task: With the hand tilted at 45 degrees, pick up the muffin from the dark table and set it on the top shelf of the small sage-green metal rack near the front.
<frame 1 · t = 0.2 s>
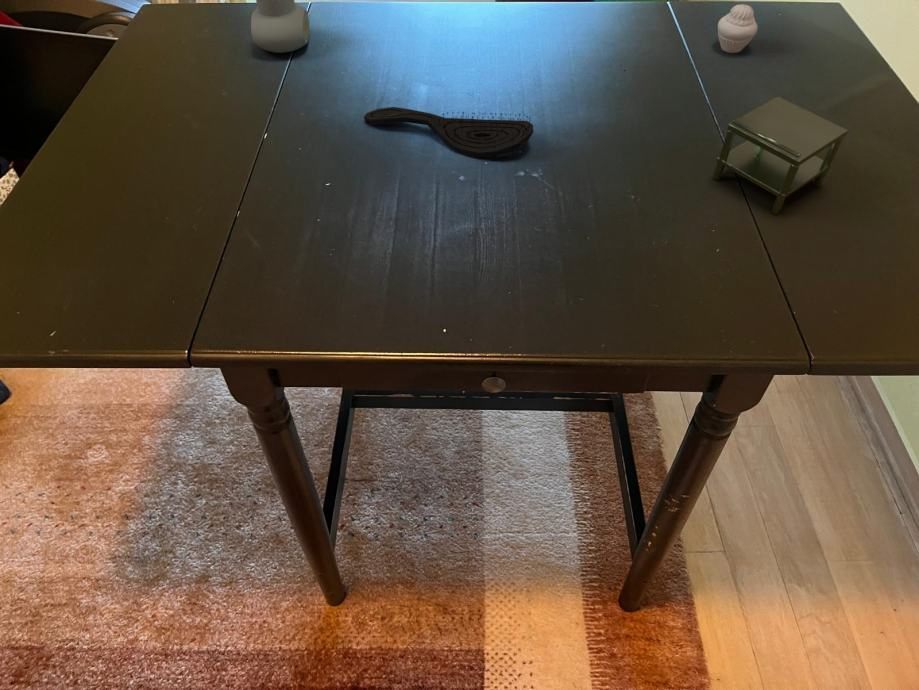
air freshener: (285, 46, 115), on the table
muffin: (730, 49, 112), on the table
rack: (766, 181, 90), on the table
hairbrush: (446, 135, 97), on the table
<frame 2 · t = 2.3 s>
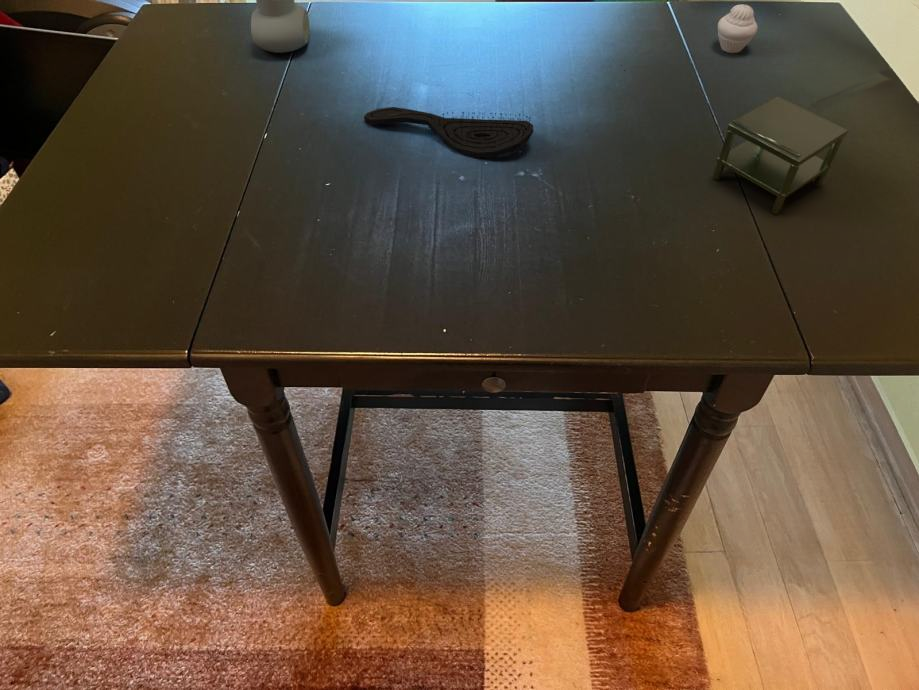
nothing on the table moved.
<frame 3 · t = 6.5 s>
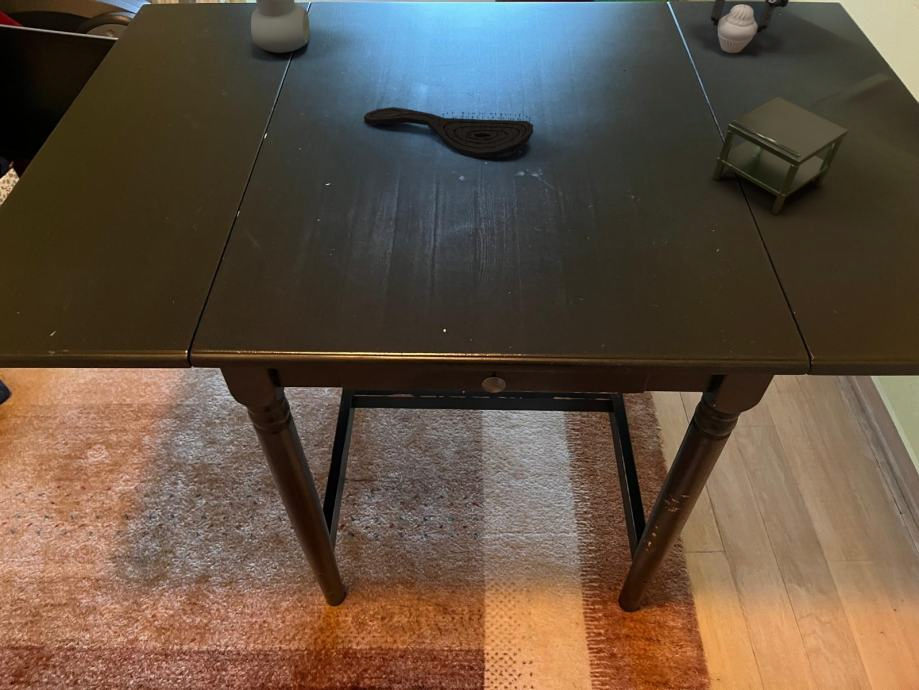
hand: (737, 26, 108), 4 cm above the table, tool tilted 45°, fingers closed on muffin, 6 cm apart
muffin: (730, 49, 112), on the table, touching gripper
everything else where it was.
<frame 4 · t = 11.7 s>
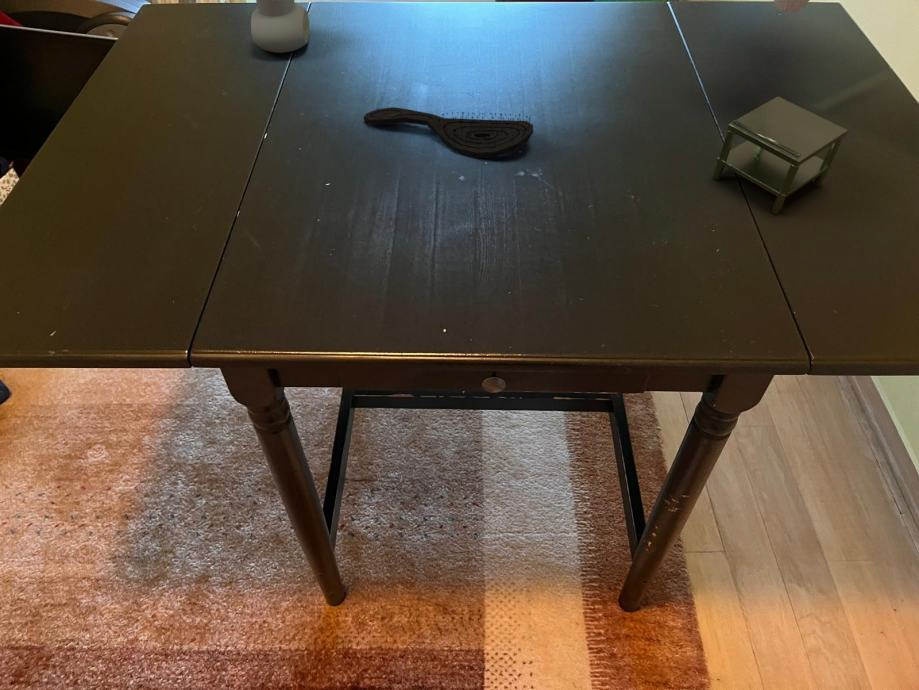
muffin: (787, 8, 88), point 15 cm above the table, touching gripper
everything else where it was.
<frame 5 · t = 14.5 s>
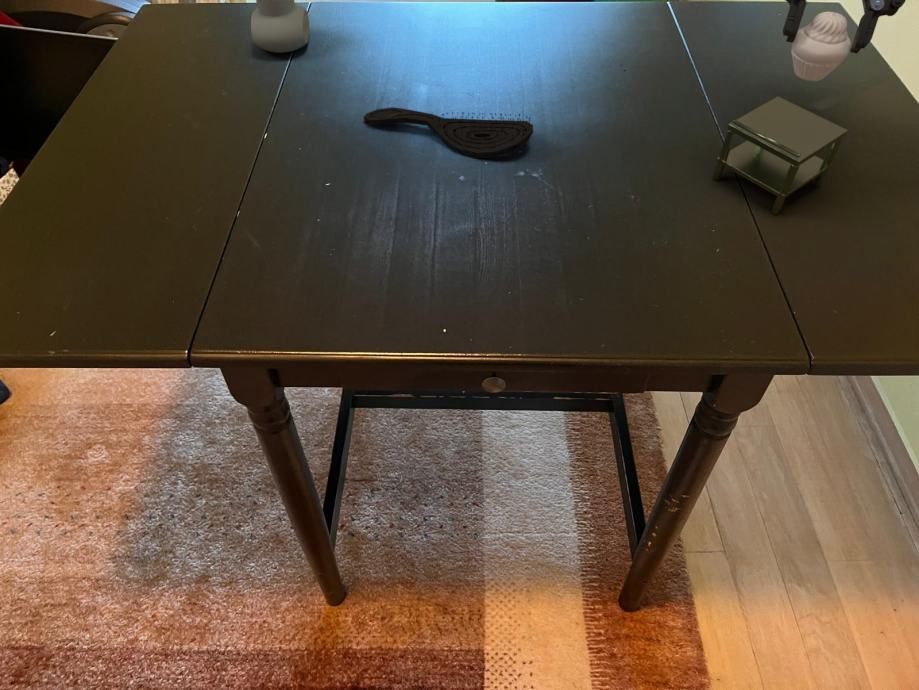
hand: (823, 44, 74), 19 cm above the table, tool tilted 45°, fingers closed on muffin, 6 cm apart
muffin: (808, 75, 78), point 15 cm above the table, touching gripper
everything else where it was.
when the fingers open (12 cm above the table, at t = 16.9 s): muffin stays where it is, resting on rack.
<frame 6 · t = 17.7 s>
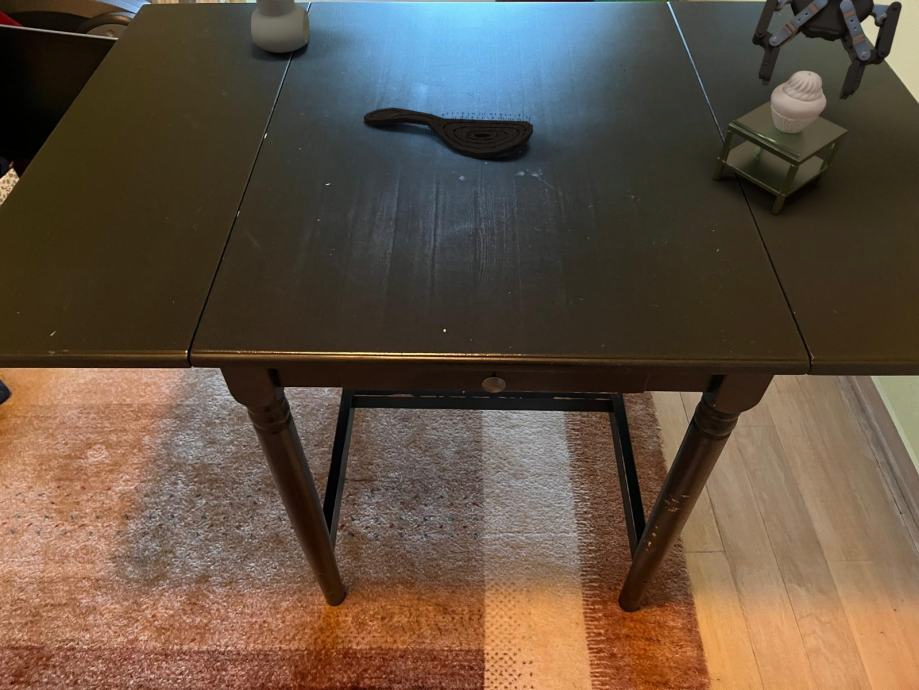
hand: (804, 90, 78), 14 cm above the table, tool tilted 45°, fingers open, 8 cm apart
muffin: (787, 127, 84), point 8 cm above the table, touching rack
everything else where it was.
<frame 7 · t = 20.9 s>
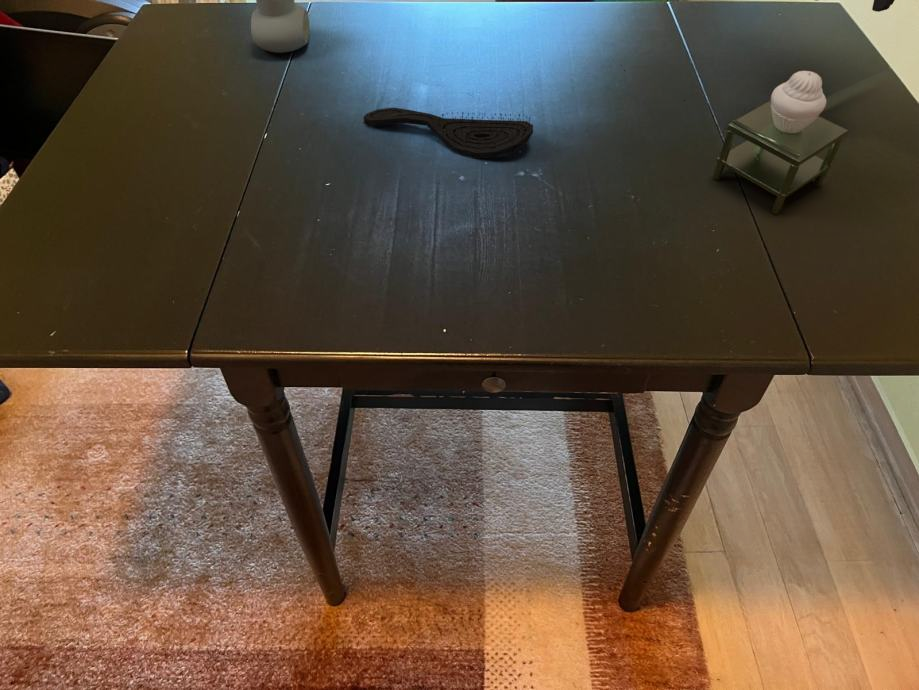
hand: (849, 4, 82), 18 cm above the table, tool tilted 35°, fingers open, 8 cm apart
nothing on the table moved.
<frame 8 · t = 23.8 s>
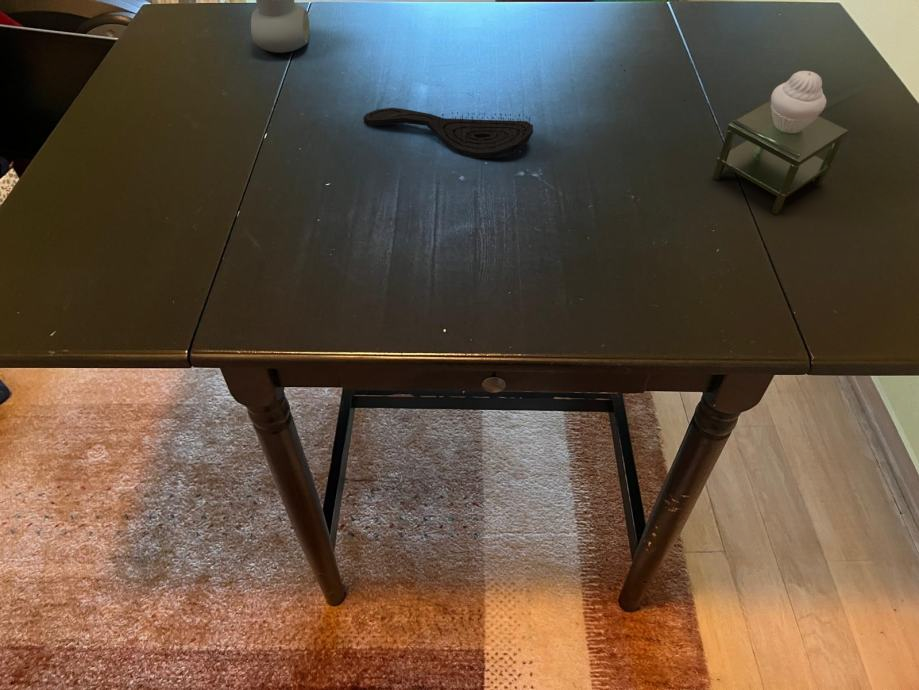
nothing on the table moved.
at the end: muffin inside the target area on the rack (0.1 cm from its centre), point 7.8 cm above the rack's base; muffin tilted 0°; the gripper is holding nothing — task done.
